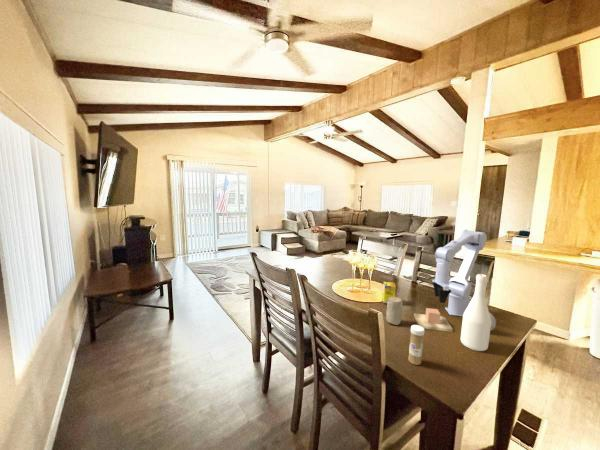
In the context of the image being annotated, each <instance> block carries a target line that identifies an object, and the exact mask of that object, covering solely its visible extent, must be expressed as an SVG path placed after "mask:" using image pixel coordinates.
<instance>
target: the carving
mask: <svg viewBox="0 0 600 450" xmlns="http://www.w3.org/2000/svg"><path fill="white" fill-rule="evenodd" d="M403 305H404V304H403V300H402V299H401V298H400V297H398V296H395V297H390V298H389V299H388V303H387V304H386V308H387V309H386V311H385V313H386V316H385V319H386V322H387V323H389V324H392V325H396V326H398V325H401V321H402V318H403V317H402V316H403Z"/></svg>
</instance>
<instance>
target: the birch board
mask: <svg viewBox="0 0 600 450" xmlns="http://www.w3.org/2000/svg"><path fill="white" fill-rule="evenodd" d="M413 316H414V319H415V321H416V323H417V324H416V325H419V326H421V327H423V328H424V330H425V329H426V330H433V331H444V332H452V333H453V332H454V329H453V327H452V326H451V324H450V323H449V322H448V320H447V319H446V317H445V316H442V315H440V324H434V323H428V322H427V320H426V318H425V316H426V314H422V313H413Z"/></svg>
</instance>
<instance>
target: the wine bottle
mask: <svg viewBox="0 0 600 450" xmlns="http://www.w3.org/2000/svg"><path fill="white" fill-rule="evenodd" d="M475 280H476V281H475V285H474V286H475V288H474V293H473V296H472V298H470V303H469V305H468V307H467V308H466V310H465V312H464V314H463V316H462V321H461V322H462V323H461V330H460V339H459V340H460V342H461V344H462V345H463V346H464V347H466V348H468V349H470V350H473V351H476V352H484V351H487V350H488V348H489V343H490V335H491V331H490V328H491V318H490V314H489V313H490V310H489V308H488V304H487V299H486V287H487V282H488V277H487V275H486V274H482V273H477V274H476V275H475Z"/></svg>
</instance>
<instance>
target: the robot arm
mask: <svg viewBox="0 0 600 450" xmlns="http://www.w3.org/2000/svg"><path fill="white" fill-rule="evenodd" d="M487 238H488V237H487V234H486V232H485V231H477V230H476V231H475V230H468V229H464V230H463V231H462V232H461V235H460V236H459V237H458V238H457V239H456V240H453V239H452V240H451V241H450V242H448V243H447V244H446V245H444V246H440V247H437V248H436V250H435V252H434V257H435V262H436V266H435V267H436V268H435V277H434V279H432V280H431V283H432V286H433V290H434V295H435V297H438V299H439V303H441V304H446V301H447V299H448V301H447V302H448V304H447V305H448V306H445V307H444V309H445V310H446V312H447V313H448V314H449V315H450V316H459V317H463V314H464V312H465V310H466V308H467V307H468V305H469V303H470V301H471V298H470V296H471V290H472V285H471V283H470V282H469V278H470V275H471V272H472V270H473V268H474V265H475V262H476V260H477V258H478V255H479V253H480V251H482V250H484V248H485V245H486V243H487V240H488V239H487ZM463 246H464V248H467V249H466V253H465V255H464V257H463V261H462V263H461V265H460V266H459V269H458V272H457V275H456V276H454V277H451V278H450V271H451V262H452V261H453V259H454V257H455V256H456V255H457V253H459V252H460V251H461V250H462V248H463Z"/></svg>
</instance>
